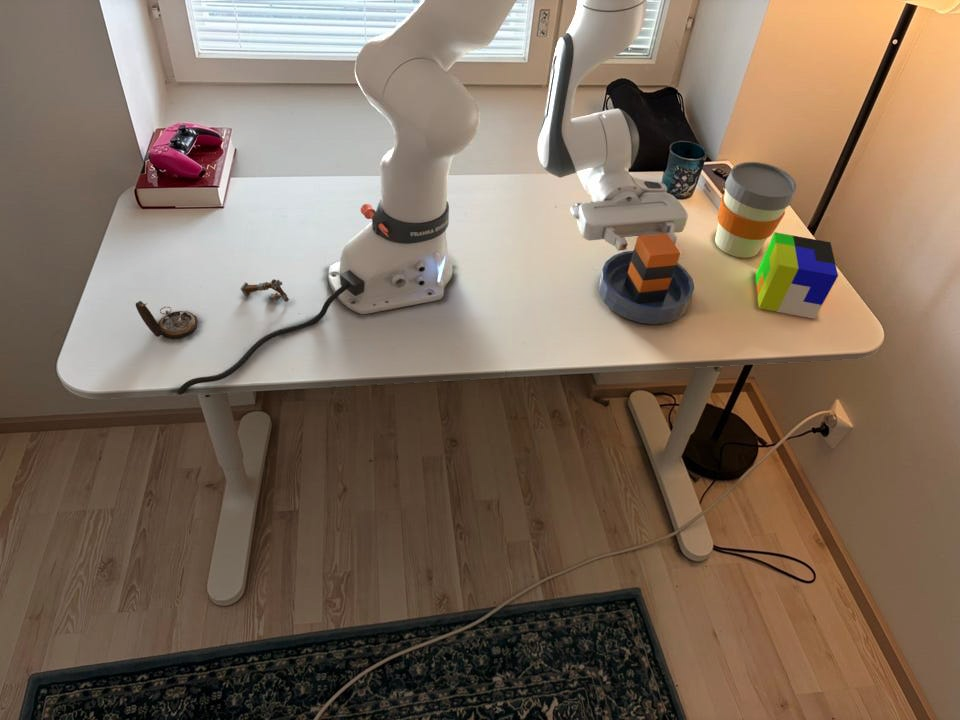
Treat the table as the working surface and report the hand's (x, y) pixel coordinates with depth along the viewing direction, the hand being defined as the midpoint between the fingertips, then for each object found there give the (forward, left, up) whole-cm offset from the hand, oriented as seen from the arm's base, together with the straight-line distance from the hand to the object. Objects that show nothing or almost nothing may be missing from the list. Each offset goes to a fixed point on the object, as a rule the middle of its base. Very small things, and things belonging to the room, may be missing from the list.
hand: (647, 244), depth 127 cm
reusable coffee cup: (+27, 0, -9) cm, 29 cm away
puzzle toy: (+23, -16, -9) cm, 29 cm away
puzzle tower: (-1, -3, -8) cm, 9 cm away
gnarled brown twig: (-61, +27, -9) cm, 67 cm away
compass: (-77, +27, -9) cm, 82 cm away
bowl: (-1, -3, -9) cm, 10 cm away
